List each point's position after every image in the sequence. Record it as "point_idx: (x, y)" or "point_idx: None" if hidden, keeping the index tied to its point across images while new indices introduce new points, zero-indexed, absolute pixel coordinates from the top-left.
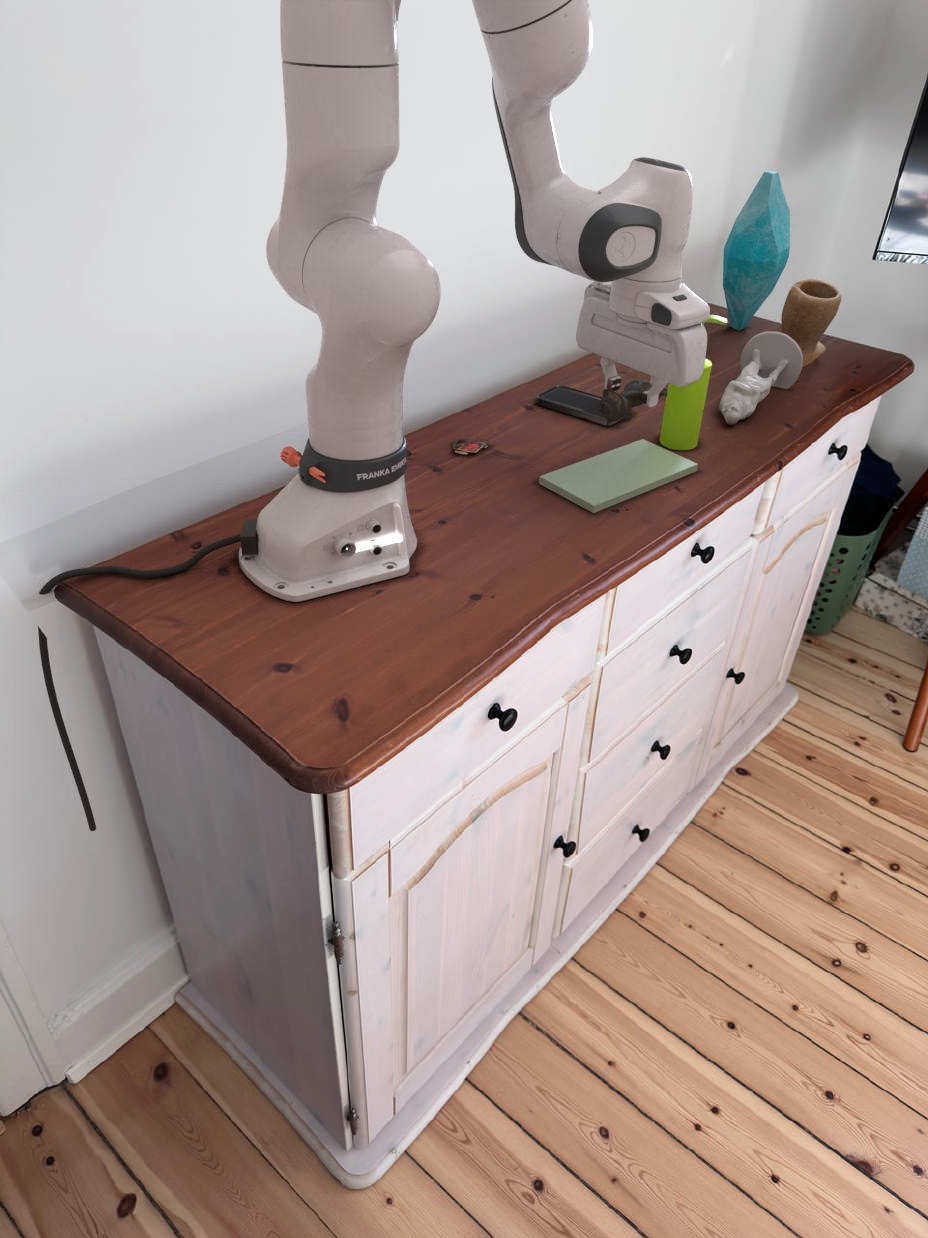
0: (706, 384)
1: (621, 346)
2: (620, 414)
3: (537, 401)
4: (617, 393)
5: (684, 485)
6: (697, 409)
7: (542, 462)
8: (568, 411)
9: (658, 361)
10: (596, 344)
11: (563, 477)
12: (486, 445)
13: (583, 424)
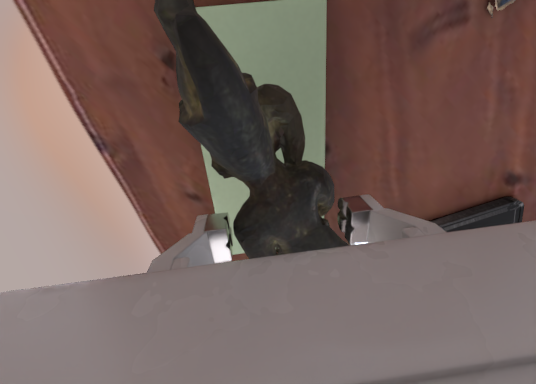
0: None
1: (377, 305)
2: (182, 101)
3: (512, 198)
4: (202, 111)
5: (198, 211)
6: None
7: (376, 70)
8: (457, 215)
9: (87, 342)
10: (522, 251)
11: (295, 39)
12: (491, 11)
13: (418, 212)
